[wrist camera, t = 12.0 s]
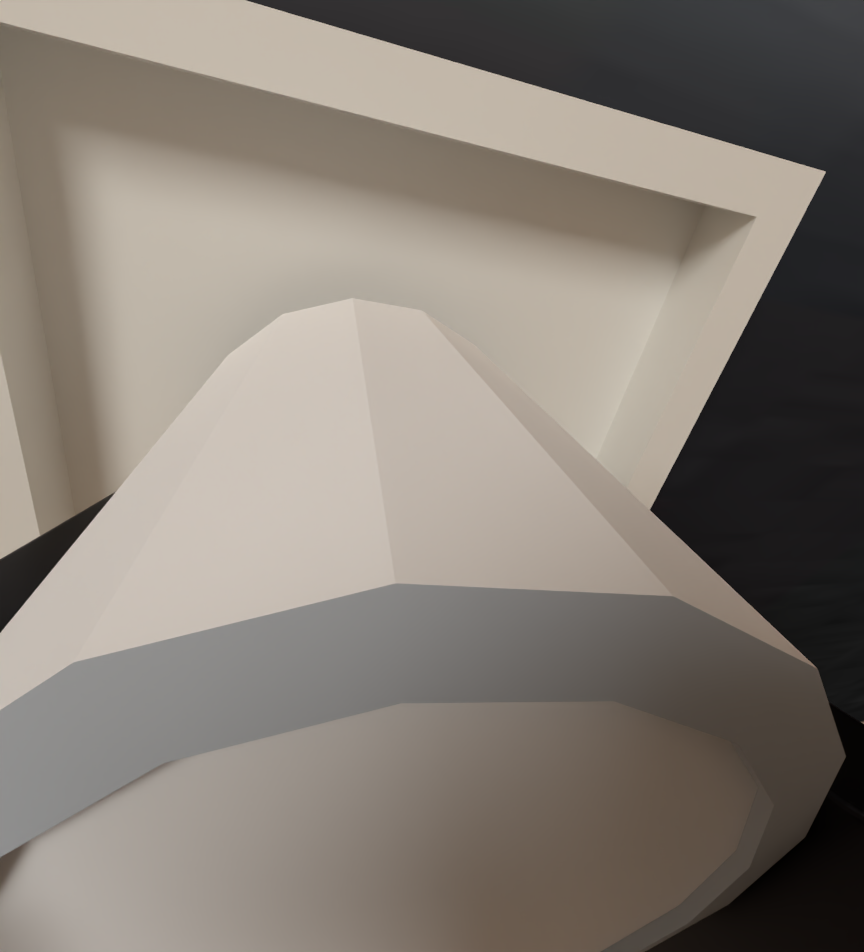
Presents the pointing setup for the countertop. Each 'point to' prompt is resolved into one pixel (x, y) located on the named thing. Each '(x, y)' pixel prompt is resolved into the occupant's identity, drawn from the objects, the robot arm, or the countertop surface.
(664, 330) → the tray
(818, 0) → the countertop surface
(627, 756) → the white cup
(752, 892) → the robot arm
